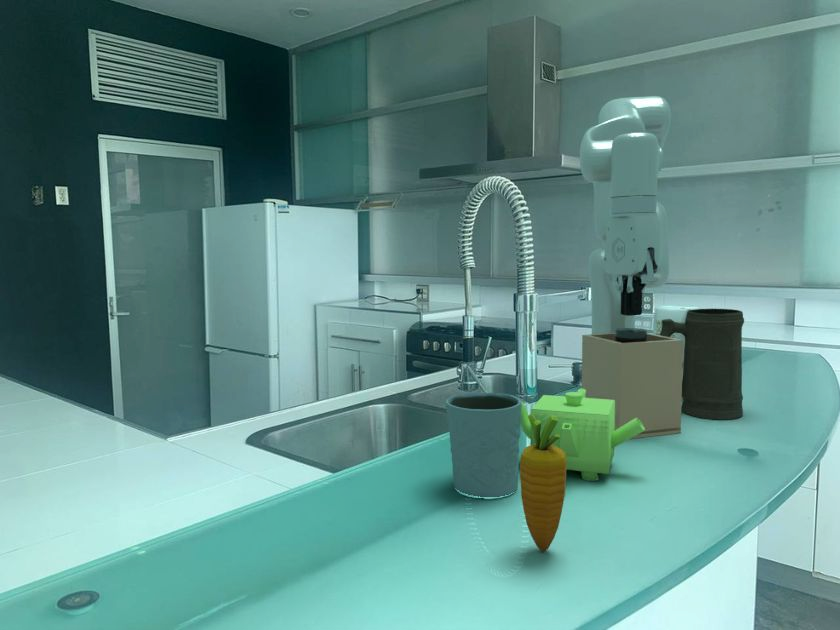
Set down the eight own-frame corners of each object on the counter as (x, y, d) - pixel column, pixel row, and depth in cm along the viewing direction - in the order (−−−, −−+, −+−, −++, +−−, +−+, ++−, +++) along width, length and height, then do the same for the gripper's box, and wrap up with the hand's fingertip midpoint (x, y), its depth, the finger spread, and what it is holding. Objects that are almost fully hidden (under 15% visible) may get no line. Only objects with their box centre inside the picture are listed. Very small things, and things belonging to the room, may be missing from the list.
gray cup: (504, 507, 79) (504, 413, 78) (433, 493, 84) (431, 404, 83) (532, 480, 88) (532, 395, 87) (465, 469, 93) (465, 388, 92)
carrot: (514, 541, 70) (514, 408, 69) (558, 539, 71) (559, 406, 69) (525, 564, 65) (525, 420, 64) (573, 561, 66) (574, 418, 64)
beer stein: (734, 405, 127) (730, 305, 125) (757, 420, 116) (753, 310, 114) (654, 410, 128) (649, 311, 126) (669, 424, 118) (664, 317, 116)
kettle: (502, 461, 97) (502, 388, 95) (577, 447, 103) (578, 378, 101) (565, 495, 83) (566, 410, 82) (647, 477, 89) (649, 398, 88)
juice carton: (663, 389, 142) (665, 304, 140) (703, 395, 136) (705, 306, 134) (647, 395, 136) (649, 306, 134) (688, 401, 130) (690, 309, 128)
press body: (574, 418, 120) (575, 333, 118) (630, 412, 123) (631, 329, 121) (619, 439, 106) (621, 344, 104) (680, 432, 109) (683, 340, 108)
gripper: (590, 210, 115) (589, 311, 118) (641, 206, 101) (638, 321, 103) (626, 210, 118) (624, 309, 120) (681, 205, 103) (677, 318, 106)
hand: (631, 314), depth 112 cm, fingers closed
